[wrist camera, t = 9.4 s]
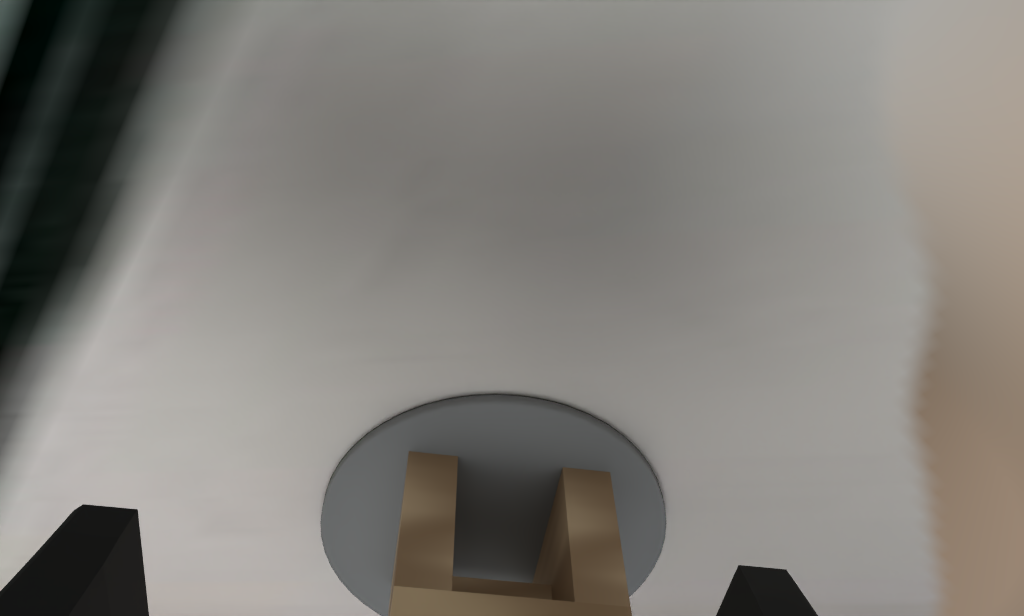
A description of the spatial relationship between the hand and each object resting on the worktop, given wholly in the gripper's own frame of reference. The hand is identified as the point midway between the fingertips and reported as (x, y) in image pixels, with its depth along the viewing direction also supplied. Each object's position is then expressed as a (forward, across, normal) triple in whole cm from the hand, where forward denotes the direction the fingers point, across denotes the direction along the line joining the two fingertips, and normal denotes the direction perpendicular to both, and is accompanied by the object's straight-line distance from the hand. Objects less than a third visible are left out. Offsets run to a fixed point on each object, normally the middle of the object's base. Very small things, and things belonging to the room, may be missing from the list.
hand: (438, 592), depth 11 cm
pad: (+9, -2, +9) cm, 13 cm away
